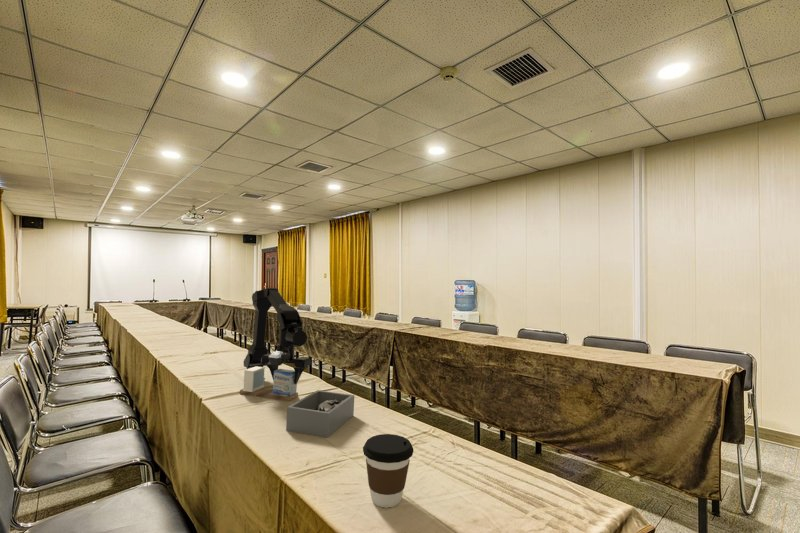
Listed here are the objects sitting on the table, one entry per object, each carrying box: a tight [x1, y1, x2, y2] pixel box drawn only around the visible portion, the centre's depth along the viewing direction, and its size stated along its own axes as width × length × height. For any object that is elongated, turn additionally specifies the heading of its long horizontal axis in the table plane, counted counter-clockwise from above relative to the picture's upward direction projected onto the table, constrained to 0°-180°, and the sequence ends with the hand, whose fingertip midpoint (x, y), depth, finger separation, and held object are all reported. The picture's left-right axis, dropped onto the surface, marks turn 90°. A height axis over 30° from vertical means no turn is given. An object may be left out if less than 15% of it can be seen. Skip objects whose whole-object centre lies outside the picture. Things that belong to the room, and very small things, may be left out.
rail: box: [239, 387, 299, 402], centre depth 148 cm, size 22×6×2 cm, turn 74°
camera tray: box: [285, 389, 355, 438], centre depth 123 cm, size 14×19×7 cm
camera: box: [314, 399, 342, 412], centre depth 120 cm, size 13×8×9 cm, turn 160°
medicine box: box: [272, 368, 298, 396], centre depth 147 cm, size 8×4×9 cm, turn 73°
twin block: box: [243, 366, 266, 392], centre depth 150 cm, size 4×7×8 cm, turn 164°
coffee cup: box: [362, 433, 414, 509], centre depth 82 cm, size 11×11×12 cm
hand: (285, 382), depth 146 cm, fingers open, 9 cm apart
